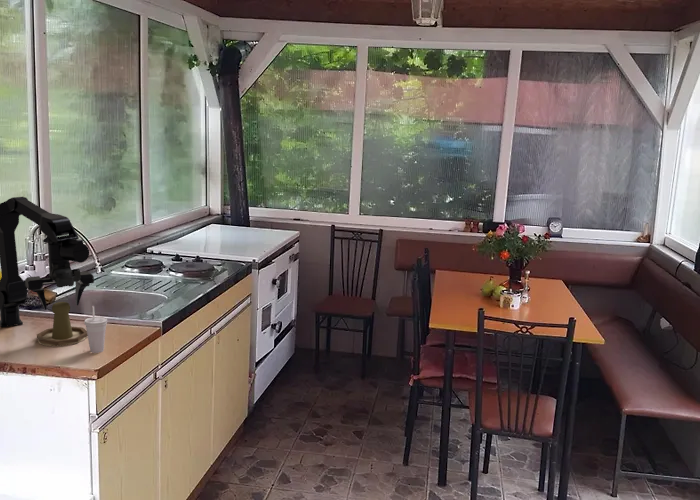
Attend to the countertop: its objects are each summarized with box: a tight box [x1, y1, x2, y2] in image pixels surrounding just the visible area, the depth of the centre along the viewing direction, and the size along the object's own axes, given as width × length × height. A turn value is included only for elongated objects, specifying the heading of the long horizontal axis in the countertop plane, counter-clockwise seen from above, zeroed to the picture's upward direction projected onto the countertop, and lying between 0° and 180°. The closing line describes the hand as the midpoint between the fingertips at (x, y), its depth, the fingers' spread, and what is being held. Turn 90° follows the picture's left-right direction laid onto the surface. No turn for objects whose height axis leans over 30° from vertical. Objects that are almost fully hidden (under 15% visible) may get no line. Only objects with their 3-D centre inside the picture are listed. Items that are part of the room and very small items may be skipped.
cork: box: [51, 301, 73, 340], centre depth 200 cm, size 6×6×11 cm
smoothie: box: [83, 305, 108, 354], centre depth 191 cm, size 6×6×14 cm
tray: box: [36, 325, 88, 347], centre depth 201 cm, size 14×14×2 cm
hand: (61, 307), depth 199 cm, fingers open, 9 cm apart
